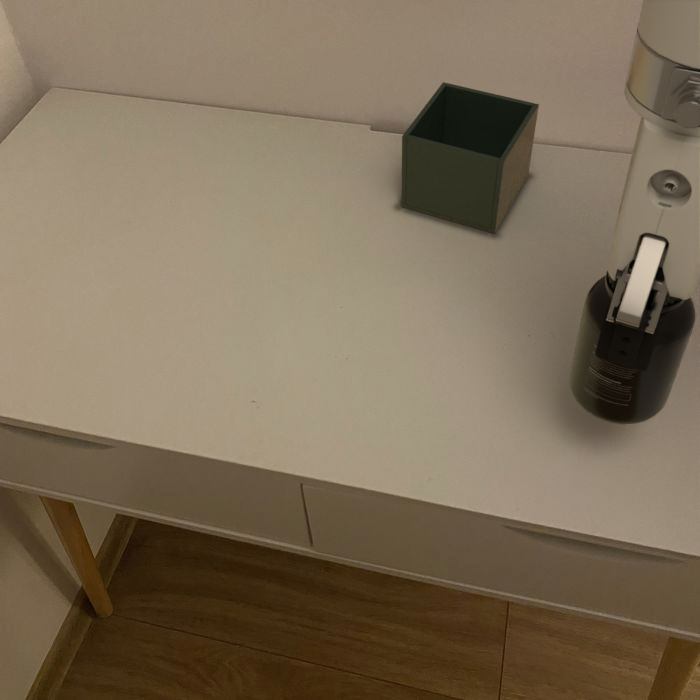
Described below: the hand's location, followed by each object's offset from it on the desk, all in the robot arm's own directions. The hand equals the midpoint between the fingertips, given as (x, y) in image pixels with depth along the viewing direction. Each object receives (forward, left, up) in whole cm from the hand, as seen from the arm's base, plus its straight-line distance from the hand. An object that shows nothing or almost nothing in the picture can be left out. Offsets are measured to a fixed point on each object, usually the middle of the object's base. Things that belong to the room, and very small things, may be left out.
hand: (636, 319), depth 53 cm
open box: (+21, -25, -14) cm, 35 cm away
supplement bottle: (0, 0, -7) cm, 7 cm away
